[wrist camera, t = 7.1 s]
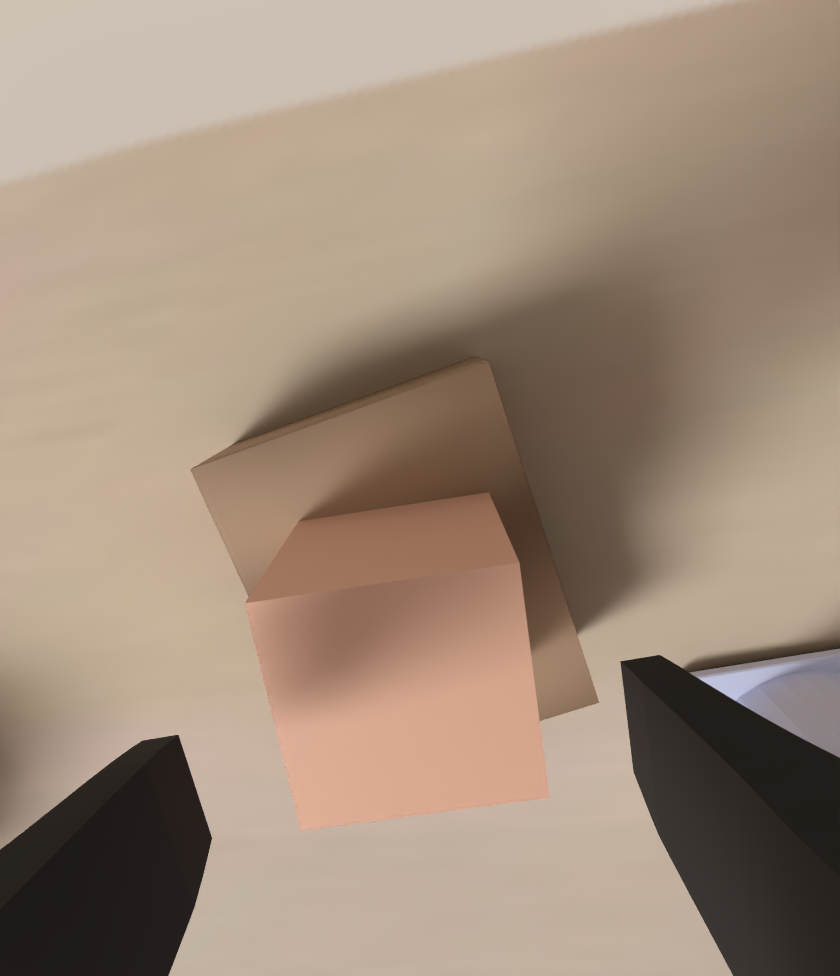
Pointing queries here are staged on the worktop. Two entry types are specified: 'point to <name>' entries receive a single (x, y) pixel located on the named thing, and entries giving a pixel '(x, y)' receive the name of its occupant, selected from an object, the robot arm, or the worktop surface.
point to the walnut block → (401, 493)
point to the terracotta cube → (400, 663)
